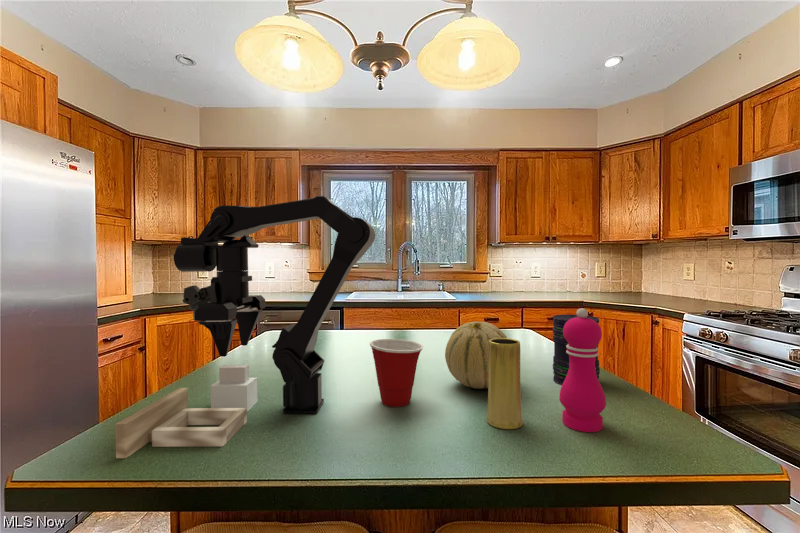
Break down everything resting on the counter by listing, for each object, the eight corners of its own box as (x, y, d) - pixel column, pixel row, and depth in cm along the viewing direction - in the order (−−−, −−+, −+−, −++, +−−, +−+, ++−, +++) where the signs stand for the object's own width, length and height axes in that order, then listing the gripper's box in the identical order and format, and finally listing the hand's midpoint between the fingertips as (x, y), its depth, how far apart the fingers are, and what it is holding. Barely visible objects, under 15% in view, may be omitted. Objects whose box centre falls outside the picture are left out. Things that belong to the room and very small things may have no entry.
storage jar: (606, 390, 83) (606, 321, 83) (558, 388, 85) (558, 320, 84) (591, 376, 93) (591, 314, 93) (548, 374, 94) (548, 314, 94)
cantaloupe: (497, 375, 94) (497, 314, 94) (524, 396, 80) (523, 324, 79) (438, 378, 93) (438, 316, 92) (454, 400, 78) (454, 326, 78)
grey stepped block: (257, 401, 78) (256, 362, 78) (247, 411, 73) (246, 369, 73) (223, 402, 78) (222, 363, 78) (210, 411, 73) (210, 370, 73)
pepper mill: (612, 435, 62) (612, 311, 61) (564, 432, 63) (564, 310, 63) (598, 417, 69) (598, 306, 68) (555, 414, 70) (555, 305, 70)
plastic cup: (427, 411, 72) (426, 348, 72) (369, 413, 72) (368, 349, 72) (421, 391, 83) (420, 336, 83) (371, 393, 83) (370, 337, 82)
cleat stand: (254, 414, 72) (254, 387, 72) (211, 458, 56) (210, 423, 56) (180, 414, 72) (179, 387, 72) (116, 458, 56) (115, 424, 56)
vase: (526, 419, 68) (526, 339, 68) (518, 433, 63) (517, 346, 63) (492, 412, 71) (492, 336, 71) (482, 425, 66) (481, 342, 66)
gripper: (215, 270, 85) (217, 341, 85) (161, 273, 66) (164, 363, 66) (265, 269, 85) (267, 340, 85) (225, 272, 66) (228, 363, 66)
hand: (234, 350), depth 76 cm, fingers open, 9 cm apart
